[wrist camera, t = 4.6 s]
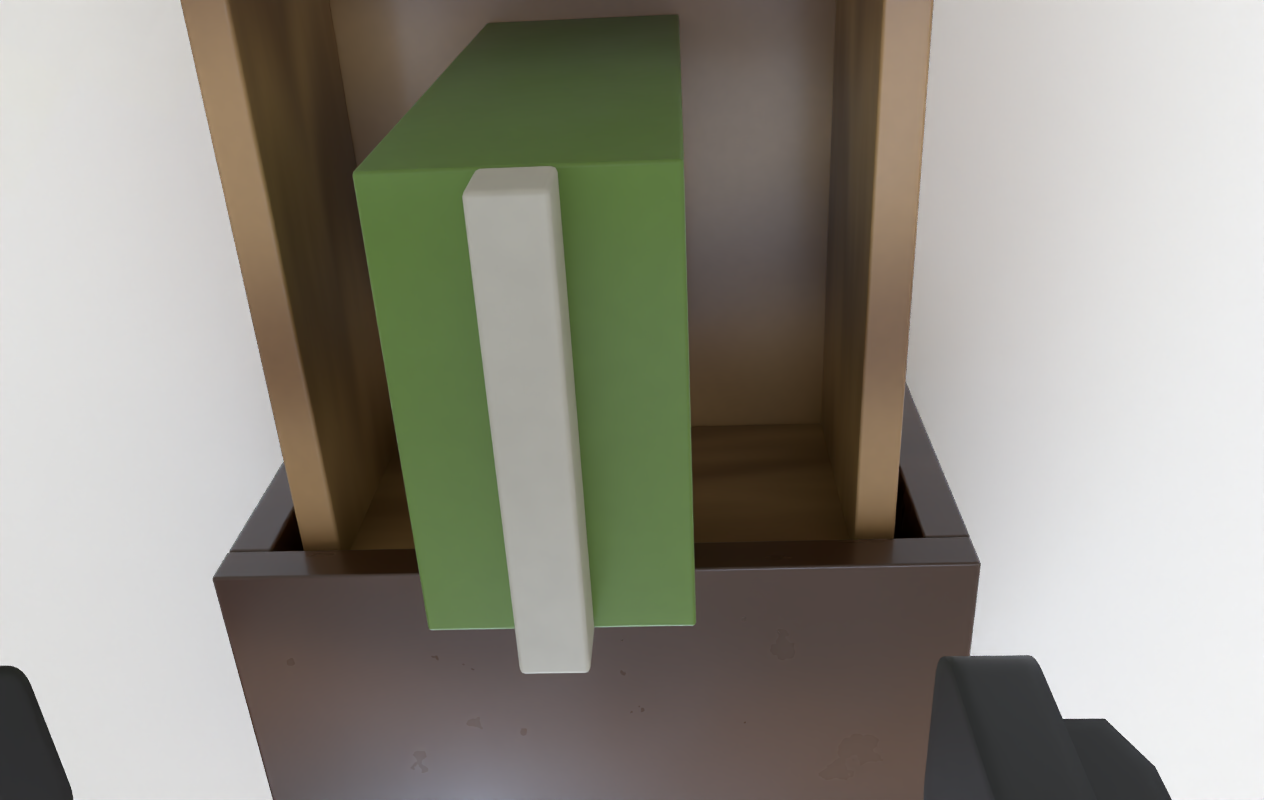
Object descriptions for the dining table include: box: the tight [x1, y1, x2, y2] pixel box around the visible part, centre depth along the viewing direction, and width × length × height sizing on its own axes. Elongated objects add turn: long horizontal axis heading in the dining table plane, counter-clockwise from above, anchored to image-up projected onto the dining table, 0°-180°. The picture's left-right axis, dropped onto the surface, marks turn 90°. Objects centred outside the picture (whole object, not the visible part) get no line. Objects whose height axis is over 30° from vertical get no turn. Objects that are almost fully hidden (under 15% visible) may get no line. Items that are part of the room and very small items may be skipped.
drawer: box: [181, 0, 934, 551], centre depth 21 cm, size 20×14×7 cm
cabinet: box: [213, 381, 981, 800], centre depth 29 cm, size 16×15×9 cm
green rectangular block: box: [353, 14, 696, 674], centre depth 19 cm, size 7×4×12 cm, turn 3°
